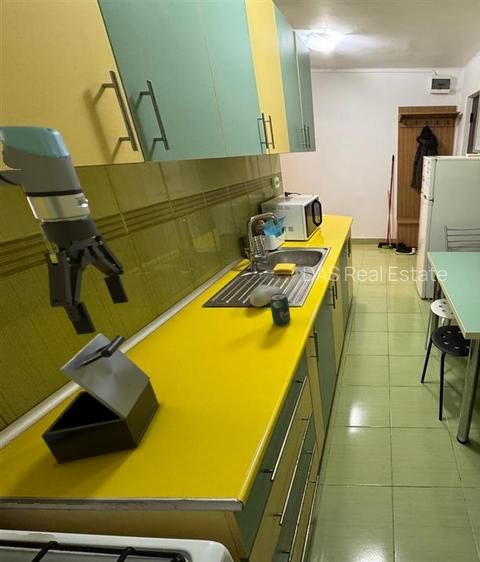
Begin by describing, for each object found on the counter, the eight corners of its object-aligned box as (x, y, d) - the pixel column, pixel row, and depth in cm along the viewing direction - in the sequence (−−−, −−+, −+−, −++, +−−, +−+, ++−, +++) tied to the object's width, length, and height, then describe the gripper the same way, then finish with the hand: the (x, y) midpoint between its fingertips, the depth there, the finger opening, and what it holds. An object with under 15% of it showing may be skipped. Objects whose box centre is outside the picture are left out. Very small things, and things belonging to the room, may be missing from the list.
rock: (242, 309, 134) (261, 292, 152) (267, 311, 133) (283, 294, 152) (240, 293, 131) (260, 278, 150) (266, 296, 130) (282, 280, 149)
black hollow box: (58, 463, 68) (40, 435, 65) (93, 417, 80) (80, 391, 77) (137, 447, 72) (124, 420, 68) (159, 405, 84) (149, 380, 80)
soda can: (286, 328, 120) (282, 301, 116) (270, 326, 122) (265, 299, 117) (293, 319, 127) (290, 293, 122) (278, 317, 128) (274, 292, 123)
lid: (59, 370, 61) (90, 354, 61) (97, 334, 73) (123, 320, 73) (122, 419, 68) (150, 404, 69) (147, 379, 80) (171, 367, 81)
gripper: (41, 231, 47) (92, 346, 55) (121, 206, 69) (149, 291, 77) (-20, 235, 45) (42, 352, 54) (82, 208, 67) (115, 294, 76)
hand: (105, 316), depth 66 cm, fingers open, 13 cm apart
